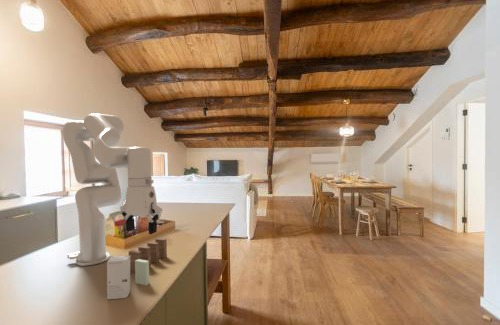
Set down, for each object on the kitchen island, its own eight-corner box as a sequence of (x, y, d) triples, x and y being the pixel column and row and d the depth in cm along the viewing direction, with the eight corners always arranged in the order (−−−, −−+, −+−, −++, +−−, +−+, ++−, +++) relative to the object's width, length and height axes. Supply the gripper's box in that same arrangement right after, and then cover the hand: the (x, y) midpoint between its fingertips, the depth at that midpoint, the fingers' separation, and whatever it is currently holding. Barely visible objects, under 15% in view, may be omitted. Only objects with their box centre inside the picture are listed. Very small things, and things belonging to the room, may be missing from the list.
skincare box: (106, 300, 80) (105, 261, 80) (111, 292, 84) (110, 256, 84) (128, 297, 81) (127, 259, 81) (131, 290, 86) (130, 254, 85)
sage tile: (146, 285, 89) (145, 262, 89) (135, 283, 90) (134, 260, 90) (149, 283, 90) (148, 260, 90) (138, 281, 92) (138, 259, 92)
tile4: (164, 258, 112) (164, 240, 111) (155, 257, 113) (155, 239, 113) (166, 257, 113) (166, 239, 113) (158, 255, 115) (157, 237, 114)
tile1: (138, 273, 98) (138, 252, 97) (129, 272, 99) (128, 251, 99) (141, 272, 99) (141, 251, 99) (132, 270, 101) (131, 250, 100)
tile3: (156, 263, 107) (156, 244, 107) (147, 261, 109) (147, 242, 108) (159, 261, 108) (158, 242, 108) (150, 260, 110) (149, 241, 110)
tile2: (147, 268, 102) (147, 248, 102) (138, 266, 104) (138, 247, 103) (150, 266, 104) (150, 246, 103) (141, 265, 105) (141, 245, 105)
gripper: (167, 182, 90) (169, 230, 90) (128, 181, 96) (130, 227, 96) (152, 184, 83) (154, 237, 83) (111, 183, 89) (113, 232, 89)
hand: (141, 231), depth 90 cm, fingers open, 9 cm apart
